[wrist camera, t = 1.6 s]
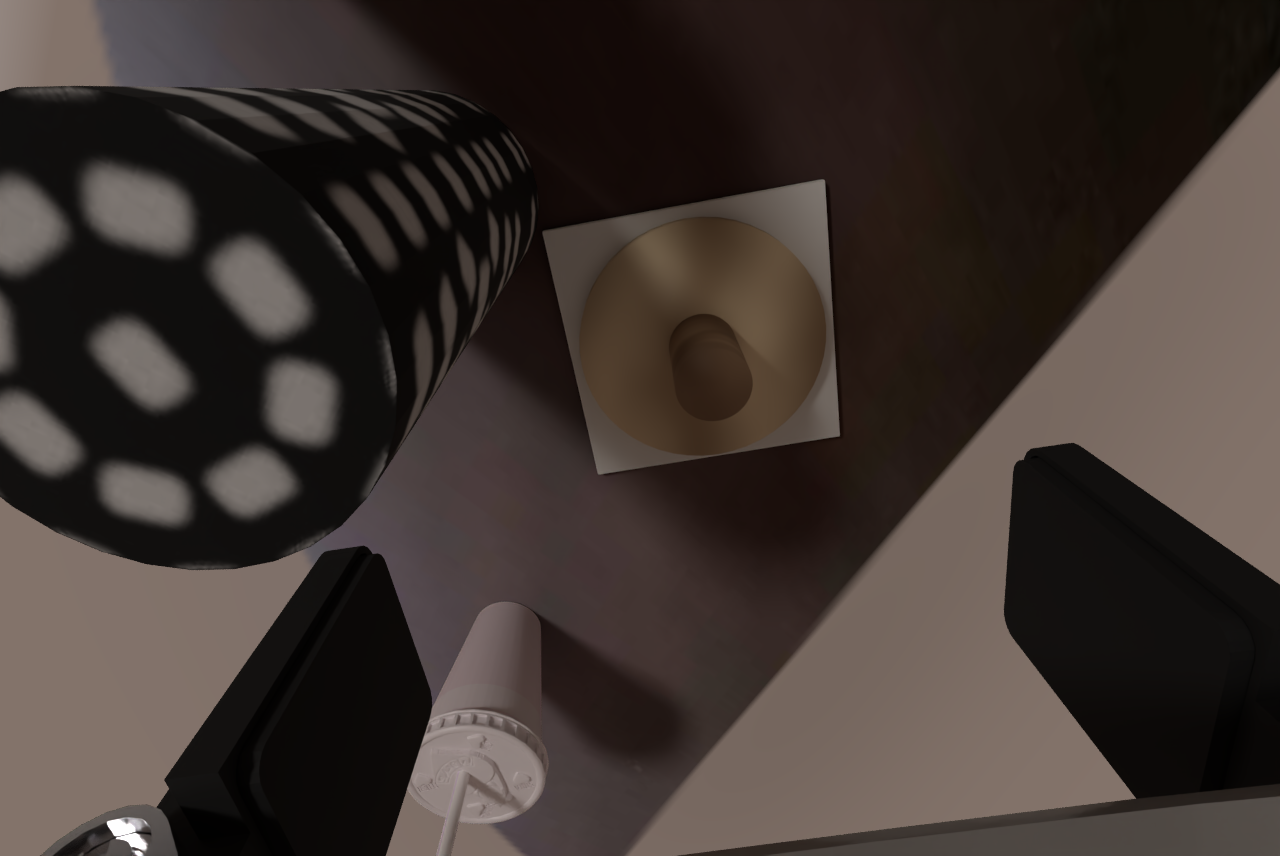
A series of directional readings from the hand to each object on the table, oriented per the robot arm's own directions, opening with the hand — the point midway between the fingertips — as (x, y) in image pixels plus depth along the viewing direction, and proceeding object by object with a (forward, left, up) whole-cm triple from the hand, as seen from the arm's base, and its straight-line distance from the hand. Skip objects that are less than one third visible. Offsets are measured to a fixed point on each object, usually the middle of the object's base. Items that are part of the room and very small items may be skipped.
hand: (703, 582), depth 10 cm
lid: (-1, +4, -22) cm, 23 cm away
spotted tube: (+9, -4, -23) cm, 25 cm away
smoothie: (+12, +19, -23) cm, 32 cm away
